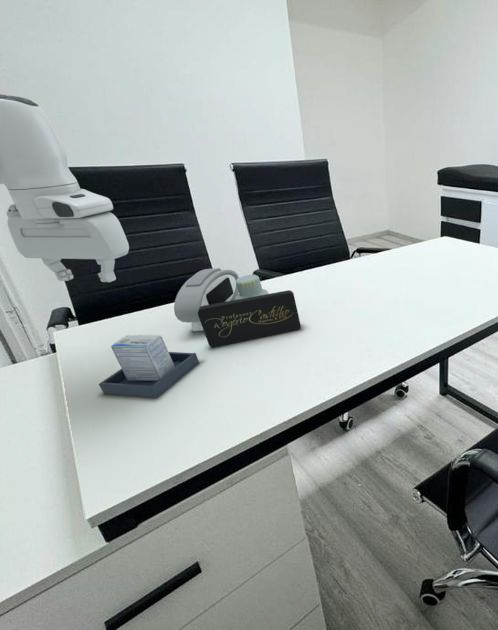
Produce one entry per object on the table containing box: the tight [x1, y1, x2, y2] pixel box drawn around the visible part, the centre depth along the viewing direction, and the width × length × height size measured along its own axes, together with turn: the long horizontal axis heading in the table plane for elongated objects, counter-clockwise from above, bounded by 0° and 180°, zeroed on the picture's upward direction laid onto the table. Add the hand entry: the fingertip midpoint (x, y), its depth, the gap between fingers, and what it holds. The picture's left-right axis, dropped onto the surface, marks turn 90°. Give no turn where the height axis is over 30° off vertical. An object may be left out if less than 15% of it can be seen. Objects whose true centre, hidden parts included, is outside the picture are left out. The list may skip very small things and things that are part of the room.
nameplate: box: [198, 289, 302, 348], centre depth 92 cm, size 21×2×10 cm, turn 110°
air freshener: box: [235, 274, 270, 300], centre depth 104 cm, size 11×8×10 cm
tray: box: [98, 351, 200, 399], centre depth 80 cm, size 12×12×2 cm
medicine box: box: [110, 334, 175, 381], centre depth 78 cm, size 8×4×9 cm, turn 84°
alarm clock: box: [173, 267, 240, 332], centre depth 103 cm, size 23×6×13 cm, turn 0°
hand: (87, 280), depth 71 cm, fingers open, 8 cm apart
